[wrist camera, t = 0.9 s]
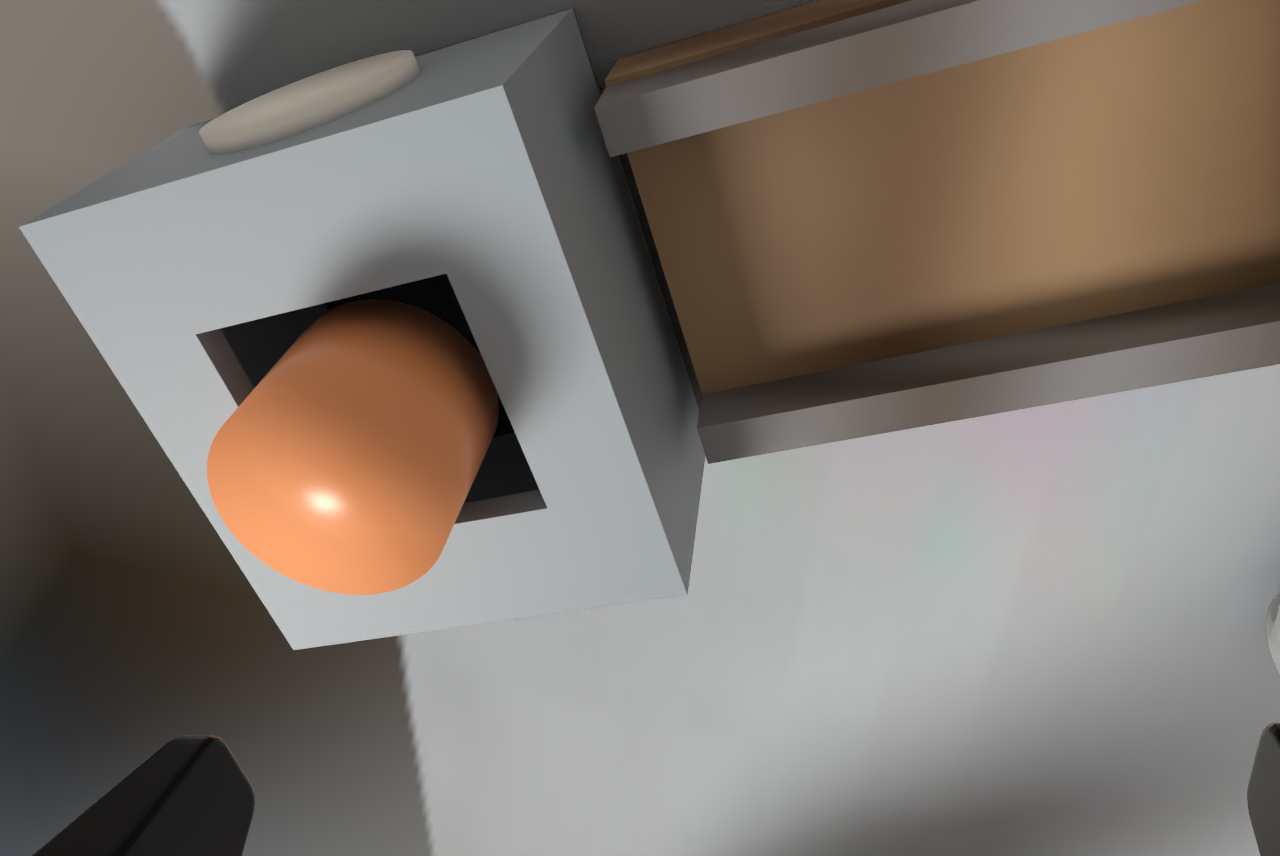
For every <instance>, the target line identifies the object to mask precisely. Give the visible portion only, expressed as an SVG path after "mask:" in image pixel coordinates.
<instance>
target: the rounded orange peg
mask: <svg viewBox="0 0 1280 856" xmlns="http://www.w3.org/2000/svg"><path fill="white" fill-rule="evenodd" d="M498 416H499V403H498V395H497V390H496V388H495V385H494V383H493V381H492V378H491V376H490V374H489V371H488V369H487V367H486V364H485V362H484V360H483V359H482V357H481V356H480V354H479V353H478V351H477V350H476V349H475V348H474V347H473V346H472V344H471V343H470V342H469V341H468V340H467V339H466V338H465V337H464V336H463V335H462V334H460V333H459V332H458V331H457V330H456V329H454V328H453V327H452V326H450V325H449V324H448V323H446V322H445V321H443V320H441V319H440V318H438V317H436V316H435V315H433V314H431V313H429V312H426V311H424V310H422V309H420V308H417V307H414V306H411V305H408V304H405V303H400V302H395V301H389V300H377V299H374V300H359V301H353V302H348V303H345V304H342V305H339V306H336V307H334V308H332V309H330V310H328V311H326V312H325V313H323V314H322V315H320V316H319V317H318V318H316V319H315V320H314V321H313V322H312V323H311V324H310V325H309V326H308V327H307V328H306V329H305V331H304V332H303V333H302V334H301V335H300V336H299V338H298V339H297V340H296V341H295V342H294V343H293V345H292V346H291V347H290V348H289V349H288V350H287V351H286V353H285V354H284V355H283V356H282V357H281V358H280V360H279V361H278V362H277V363H276V364H275V365H274V366H273V368H272V369H271V370H270V371H269V372H268V373H267V375H266V376H265V377H264V378H263V379H262V380H261V381H260V383H259V384H258V385H257V386H256V387H255V388H254V390H253V391H252V392H251V393H250V394H249V395H248V396H247V398H246V399H245V400H244V401H243V402H242V403H241V405H240V406H239V407H238V408H237V409H236V410H235V412H234V413H233V414H232V415H231V416H230V417H229V418H228V420H227V421H226V422H225V423H224V424H223V425H222V427H221V428H220V430H219V431H218V432H217V434H216V435H215V437H214V440H213V442H212V444H211V446H210V450H209V454H208V458H207V479H208V485H209V489H210V493H211V497H212V499H213V502H214V504H215V507H216V509H217V511H218V513H219V514H220V516H221V518H222V520H223V522H224V523H225V524H226V526H227V527H228V528H229V530H230V531H231V533H232V534H233V535H234V536H235V537H236V538H237V539H238V541H239V542H240V543H241V544H242V545H243V546H244V547H245V548H246V549H247V550H249V551H250V552H251V553H252V554H253V555H254V556H255V557H257V558H258V559H259V560H261V561H262V562H263V563H265V564H266V565H268V566H269V567H271V568H272V569H274V570H275V571H277V572H279V573H281V574H282V575H284V576H286V577H288V578H290V579H292V580H295V581H297V582H299V583H302V584H304V585H307V586H310V587H313V588H316V589H320V590H323V591H328V592H333V593H339V594H347V595H372V594H381V593H385V592H390V591H394V590H397V589H399V588H402V587H405V586H407V585H409V584H411V583H413V582H415V581H416V580H418V579H419V578H420V577H422V576H423V575H424V574H426V573H427V572H428V571H429V570H430V569H431V568H432V567H433V566H434V564H435V563H436V561H437V560H438V558H439V557H440V555H441V553H442V551H443V548H444V546H445V544H446V542H447V539H448V537H449V535H450V533H451V530H452V528H453V526H454V524H455V522H456V519H457V517H458V515H459V513H460V510H461V508H462V506H463V504H464V501H465V499H466V497H467V495H468V492H469V490H470V488H471V486H472V484H473V481H474V479H475V477H476V475H477V472H478V470H479V468H480V466H481V463H482V461H483V459H484V457H485V454H486V452H487V450H488V448H489V446H490V443H491V441H492V439H493V437H494V434H495V431H496V428H497V424H498Z"/></svg>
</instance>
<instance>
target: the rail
mask: <svg viewBox="0 0 1280 856" xmlns="http://www.w3.org/2000/svg"><path fill="white" fill-rule="evenodd" d="M604 82H605V85H606V88H605V90H604V91H603V93H602V95H601V97H600V98H599V100H598V102H597V103H596V105H595V107H594V109H595V112H596V116H597V119H598V122H599V125H600V128H601V131H602V134H603V137H604V141H605V144H606V147H607V150H608V153H609V156H610V157H614V156H618V155H621V154H625V153H627V156H628V159H629V162H630V165H631V169H632V172H633V175H634V178H635V181H636V185H637V188H638V191H639V194H640V197H641V201H642V204H643V207H644V210H645V214H646V217H647V220H648V223H649V226H650V230H651V233H652V236H653V239H654V242H655V246H656V249H657V252H658V255H659V258H660V262H661V265H662V268H663V271H664V275H665V278H666V281H667V284H668V287H669V291H670V294H671V297H672V300H673V303H674V307H675V310H676V313H677V316H678V320H679V323H680V326H681V329H682V332H683V336H684V339H685V342H686V345H687V348H688V352H689V355H690V358H691V361H692V364H693V368H694V371H695V374H696V377H697V381H698V384H699V387H700V390H701V393H702V397H701V404H700V411H699V417H698V424H697V431H698V434H699V437H700V440H701V443H702V446H703V449H704V452H705V455H706V459H707V462H708V464H709V463H715V462H721V461H726V460H732V459H738V458H744V457H749V456H755V455H761V454H766V453H772V452H778V451H784V450H789V449H795V448H801V447H807V446H812V445H818V444H824V443H829V442H835V441H841V440H847V439H852V438H858V437H864V436H870V435H875V434H881V433H887V432H892V431H898V430H904V429H910V428H915V427H921V426H927V425H933V424H938V423H944V422H950V421H955V420H961V419H967V418H973V417H978V416H984V415H990V414H996V413H1001V412H1007V411H1013V410H1018V409H1024V408H1030V407H1036V406H1041V405H1047V404H1053V403H1059V402H1064V401H1070V400H1076V399H1081V398H1087V397H1093V396H1099V395H1104V394H1110V393H1116V392H1122V391H1127V390H1133V389H1139V388H1144V387H1150V386H1156V385H1162V384H1167V383H1173V382H1179V381H1185V380H1190V379H1196V378H1202V377H1207V376H1213V375H1219V374H1225V373H1230V372H1236V371H1242V370H1248V369H1253V368H1259V367H1265V366H1271V365H1276V364H1280V0H818V1H814V2H811V3H807V4H804V5H800V6H797V7H793V8H790V9H787V10H783V11H780V12H776V13H773V14H769V15H766V16H763V17H759V18H756V19H752V20H749V21H745V22H742V23H738V24H735V25H732V26H728V27H725V28H721V29H718V30H714V31H711V32H708V33H704V34H701V35H697V36H694V37H690V38H687V39H683V40H680V41H677V42H673V43H670V44H666V45H663V46H659V47H656V48H653V49H649V50H646V51H642V52H639V53H635V54H632V55H628V56H625V57H622V58H618V59H617V61H616V62H615V64H614V66H613V67H612V69H611V70H610V72H609V74H608V75H607V77H606V79H605V80H604Z"/></svg>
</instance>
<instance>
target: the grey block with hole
mask: <svg viewBox="0 0 1280 856" xmlns="http://www.w3.org/2000/svg"><path fill="white" fill-rule="evenodd" d="M599 98H600V94H599V91H598V87H597V84H596V81H595V78H594V75H593V72H592V68H591V65H590V62H589V59H588V56H587V53H586V49H585V46H584V43H583V40H582V37H581V34H580V30H579V27H578V24H577V21H576V18H575V15H574V11H573V8H572V9H568V10H565V11H562V12H559V13H555V14H552V15H549V16H546V17H542V18H539V19H536V20H533V21H530V22H526V23H523V24H520V25H517V26H513V27H510V28H507V29H504V30H500V31H497V32H494V33H491V34H487V35H484V36H481V37H478V38H474V39H471V40H468V41H465V42H462V43H458V44H455V45H452V46H449V47H445V48H442V49H439V50H436V51H432V52H429V53H426V54H423V55H419V56H416V57H415V56H414V54H413V52H412V51H411V50H400V51H393V52H388V53H383V54H379V55H375V56H371V57H367V58H364V59H360V60H357V61H354V62H350V63H347V64H344V65H341V66H338V67H335V68H332V69H329V70H326V71H323V72H320V73H317V74H315V75H312V76H309V77H306V78H304V79H301V80H298V81H296V82H293V83H291V84H288V85H286V86H283V87H281V88H278V89H276V90H273V91H271V92H269V93H266V94H264V95H262V96H259V97H257V98H255V99H253V100H250V101H248V102H246V103H244V104H242V105H240V106H238V107H236V108H234V109H232V110H230V111H228V112H226V113H224V114H222V115H220V116H219V117H217V118H215V119H212V120H209V121H206V122H203V123H199V124H196V125H193V126H190V127H186V128H184V129H182V130H180V131H179V132H177V133H175V134H174V135H172V136H170V137H169V138H167V139H166V140H164V141H162V142H160V143H159V144H157V145H155V146H154V147H152V148H150V149H149V150H147V151H145V152H144V153H142V154H140V155H139V156H137V157H135V158H133V159H132V160H130V161H128V162H127V163H125V164H123V165H122V166H120V167H118V168H117V169H115V170H113V171H112V172H110V173H108V174H107V175H105V176H103V177H102V178H100V179H98V180H97V181H95V182H93V183H92V184H90V185H88V186H87V187H85V188H83V189H81V190H80V191H78V192H76V193H75V194H73V195H71V196H70V197H68V198H67V199H65V200H63V201H61V202H60V203H58V204H56V205H55V206H53V207H51V208H49V209H48V210H46V211H44V212H43V213H41V214H39V215H38V216H36V217H34V218H33V219H31V220H29V221H28V222H26V223H24V224H23V225H21V226H19V228H20V230H21V231H22V232H23V234H24V236H25V237H26V239H27V240H28V242H29V243H30V245H31V246H32V248H33V250H34V251H35V253H36V254H37V256H38V257H39V259H40V260H41V262H42V263H43V265H44V267H45V268H46V270H47V271H48V273H49V274H50V276H51V277H52V279H53V280H54V282H55V283H56V285H57V286H58V288H59V289H60V291H61V293H62V294H63V296H64V297H65V299H66V300H67V302H68V303H69V305H70V306H71V308H72V310H73V311H74V313H75V314H76V316H77V317H78V319H79V320H80V322H81V323H82V325H83V326H84V328H85V329H86V331H87V333H88V334H89V336H90V337H91V339H92V340H93V342H94V343H95V345H96V347H97V348H98V350H99V351H100V353H101V354H102V356H103V357H104V359H105V360H106V362H107V364H108V365H109V367H110V368H111V370H112V371H113V373H114V374H115V375H116V377H117V379H118V380H119V382H120V384H121V385H122V387H123V388H124V390H125V391H126V393H127V394H128V396H129V397H130V399H131V400H132V402H133V404H134V405H135V407H136V408H137V410H138V411H139V413H140V414H141V416H142V417H143V419H144V420H145V422H146V423H147V425H148V427H149V428H150V430H151V431H152V433H153V434H154V436H155V437H156V439H157V440H158V442H159V444H160V445H161V447H162V448H163V450H164V451H165V453H166V454H167V456H168V457H169V459H170V460H171V462H172V463H173V465H174V467H175V468H176V470H177V471H178V473H179V474H180V476H181V477H182V479H183V481H184V482H185V484H186V485H187V486H188V488H189V490H190V491H191V493H192V494H193V496H194V498H195V499H196V501H197V502H198V504H199V505H200V507H201V508H202V510H203V511H204V513H205V514H206V516H207V518H208V519H209V521H210V522H211V524H212V525H213V527H214V528H215V530H216V531H217V533H218V534H219V536H220V538H221V539H222V541H223V542H224V544H225V545H226V547H227V548H228V550H229V551H230V553H231V554H232V556H233V557H234V559H235V561H236V562H237V564H238V565H239V567H240V568H241V570H242V571H243V573H244V574H245V576H246V578H247V579H248V580H249V582H250V584H251V585H252V587H253V588H254V590H255V591H256V593H257V595H258V596H259V598H260V599H261V601H262V602H263V604H264V605H265V607H266V608H267V610H268V611H269V613H270V615H271V616H272V618H273V619H274V621H275V622H276V624H277V625H278V627H279V628H280V630H281V631H282V633H283V634H284V636H285V637H286V639H287V641H288V642H289V644H290V645H291V647H292V648H293V650H297V649H305V648H311V647H319V646H326V645H333V644H340V643H347V642H354V641H362V640H369V639H376V638H383V637H390V636H397V635H405V634H412V633H419V632H426V631H433V630H440V629H447V628H455V627H462V626H469V625H476V624H483V623H490V622H497V621H505V620H512V619H519V618H526V617H533V616H540V615H547V614H555V613H562V612H569V611H576V610H583V609H590V608H597V607H605V606H612V605H619V604H626V603H633V602H640V601H648V600H655V599H662V598H669V597H676V596H683V595H687V594H688V586H689V578H690V570H691V562H692V555H693V547H694V539H695V531H696V524H697V516H698V508H699V500H700V492H701V485H702V477H703V469H704V461H705V452H704V449H703V446H702V443H701V440H700V437H699V434H698V431H697V424H698V417H699V407H698V404H697V401H696V398H695V395H694V392H693V388H692V385H691V382H690V379H689V376H688V373H687V369H686V366H685V363H684V360H683V357H682V354H681V350H680V347H679V344H678V341H677V338H676V335H675V331H674V328H673V325H672V322H671V319H670V316H669V312H668V309H667V306H666V303H665V300H664V297H663V293H662V290H661V287H660V284H659V281H658V278H657V274H656V271H655V268H654V265H653V262H652V258H651V255H650V252H649V249H648V246H647V243H646V239H645V236H644V233H643V230H642V227H641V224H640V220H639V217H638V214H637V211H636V208H635V205H634V201H633V198H632V195H631V192H630V189H629V186H628V182H627V179H626V176H625V173H624V170H623V167H622V163H621V160H620V157H619V155H618V156H614V157H610V156H609V153H608V150H607V147H606V144H605V141H604V137H603V134H602V131H601V128H600V125H599V122H598V119H597V116H596V112H595V109H594V107H595V105H596V103H597V102H598V100H599ZM442 274H447V276H448V279H449V281H450V283H451V285H452V288H453V290H454V292H455V295H456V297H457V299H458V302H459V304H460V306H461V309H462V311H463V313H464V316H465V318H466V320H467V323H468V325H469V327H470V330H471V332H472V334H473V337H474V339H475V341H476V343H477V346H478V348H479V350H480V353H481V355H482V357H483V360H484V362H485V364H486V367H487V369H488V371H489V374H490V376H491V378H492V381H493V383H494V385H495V388H496V390H497V392H498V395H499V397H500V399H501V401H502V404H503V406H504V408H505V411H506V413H507V415H508V418H509V420H510V422H511V425H512V427H513V429H514V432H515V433H510V434H505V435H500V436H495V437H493V439H492V441H491V443H490V446H489V448H488V450H487V452H486V454H485V457H484V459H483V461H482V463H481V466H480V468H479V470H478V472H477V475H476V477H475V479H474V481H473V484H472V486H471V488H470V490H469V492H468V495H467V497H466V499H465V501H464V504H463V506H462V508H461V510H460V513H459V515H458V517H457V519H456V522H455V524H454V526H453V528H452V530H451V533H450V535H449V537H448V539H447V542H446V544H445V546H444V548H443V551H442V553H441V555H440V557H439V558H438V560H437V561H436V563H435V564H434V566H433V567H432V568H431V569H430V570H429V571H428V572H427V573H426V574H424V575H423V576H422V577H420V578H419V579H418V580H416V581H415V582H413V583H411V584H409V585H407V586H405V587H402V588H399V589H397V590H394V591H390V592H385V593H381V594H372V595H347V594H339V593H333V592H328V591H323V590H320V589H316V588H313V587H310V586H307V585H304V584H302V583H299V582H297V581H295V580H292V579H290V578H288V577H286V576H284V575H282V574H281V573H279V572H277V571H275V570H274V569H272V568H271V567H269V566H268V565H266V564H265V563H263V562H262V561H261V560H259V559H258V558H257V557H255V556H254V555H253V554H252V553H251V552H250V551H249V550H247V549H246V548H245V547H244V546H243V545H242V544H241V543H240V542H239V541H238V539H237V538H236V537H235V536H234V535H233V534H232V533H231V531H230V530H229V528H228V527H227V526H226V524H225V523H224V522H223V520H222V518H221V516H220V514H219V513H218V511H217V509H216V507H215V504H214V502H213V499H212V497H211V493H210V489H209V485H208V479H207V458H208V454H209V450H210V446H211V444H212V442H213V440H214V437H215V435H216V434H217V432H218V431H219V430H220V428H221V427H222V425H223V424H224V423H225V422H226V421H227V420H228V418H229V417H230V416H231V415H232V414H233V413H234V412H235V410H236V409H237V408H238V407H239V406H240V405H241V403H242V402H243V401H244V400H245V399H246V398H247V396H248V395H249V394H250V393H251V392H252V391H253V390H254V388H255V387H256V386H257V385H258V384H259V383H260V381H261V380H262V379H263V378H264V377H265V376H266V375H267V373H268V372H269V371H270V370H271V369H272V368H273V366H274V365H275V364H276V363H277V362H278V361H279V360H280V358H281V357H282V356H283V355H284V354H285V353H286V351H287V350H288V349H289V348H290V347H291V346H292V345H293V343H294V342H295V341H296V340H297V339H298V338H299V336H300V335H301V334H302V333H303V332H304V331H305V329H306V328H307V327H308V326H309V325H310V324H311V323H312V322H313V321H314V320H315V319H316V318H318V317H319V316H320V315H322V314H323V313H325V312H326V311H328V310H327V308H326V306H325V304H324V303H327V302H331V301H335V300H340V299H344V298H348V297H352V296H356V295H360V294H364V293H368V292H372V291H377V290H381V289H385V288H389V287H393V286H397V285H401V284H405V283H410V282H414V281H418V280H422V279H426V278H430V277H434V276H438V275H442Z"/></svg>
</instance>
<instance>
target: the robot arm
mask: <svg viewBox="0 0 1280 856" xmlns="http://www.w3.org/2000/svg"><path fill="white" fill-rule="evenodd" d="M1247 799H1248V809H1249V815H1250V819H1251V823H1252V826H1253V830H1254V834H1255V837H1256V841H1257V844H1258V848H1259V851H1260V855H1261V856H1280V723H1273V724H1269V725H1268V726H1267V727H1266V728H1265V729H1264V730H1263V732H1262V734H1261V737H1260V741H1259V745H1258V749H1257V753H1256V757H1255V761H1254V765H1253V769H1252V773H1251V777H1250V781H1249V785H1248V794H1247ZM254 805H255V798H254V791H253V787H252V786H251V783H250V782H249V780H248V778H247V777H246V775H245V774H244V772H243V771H242V769H241V767H240V766H239V764H238V762H237V761H236V759H235V758H234V756H233V754H232V753H231V751H230V749H229V748H228V746H227V745H226V743H225V742H224V741H223V740H222V739H221V738H219V737H217V736H213V735H203V736H202V735H196V736H180V737H177V738H174V739H173V740H171V741H169V742H168V743H167V744H165V745H164V746H163V747H162V748H160V749H159V750H158V751H157V752H156V753H154V754H153V755H152V756H151V757H150V758H148V759H147V760H146V761H145V762H144V763H142V764H141V765H140V766H139V767H138V768H136V769H135V770H134V771H133V772H132V773H130V774H129V775H128V776H127V777H126V778H124V779H123V780H122V781H121V782H120V783H118V784H117V785H116V786H115V787H114V788H112V789H111V790H110V791H109V792H108V793H106V794H105V795H104V796H103V797H102V798H100V799H99V800H98V801H97V802H96V803H94V804H93V805H92V806H91V807H90V808H88V809H87V810H86V811H85V812H84V813H82V814H81V815H80V816H79V817H78V818H76V819H75V820H74V821H73V822H72V823H70V824H69V825H68V826H67V827H66V828H64V829H63V830H62V831H61V832H60V833H58V834H57V835H56V836H55V837H54V838H52V839H51V840H50V841H49V842H48V843H46V844H45V845H44V846H43V847H42V848H40V849H39V850H38V851H37V852H36V853H35V854H33V855H32V856H242V855H243V851H244V847H245V843H246V840H247V836H248V832H249V829H250V825H251V821H252V818H253V813H254Z"/></svg>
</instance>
